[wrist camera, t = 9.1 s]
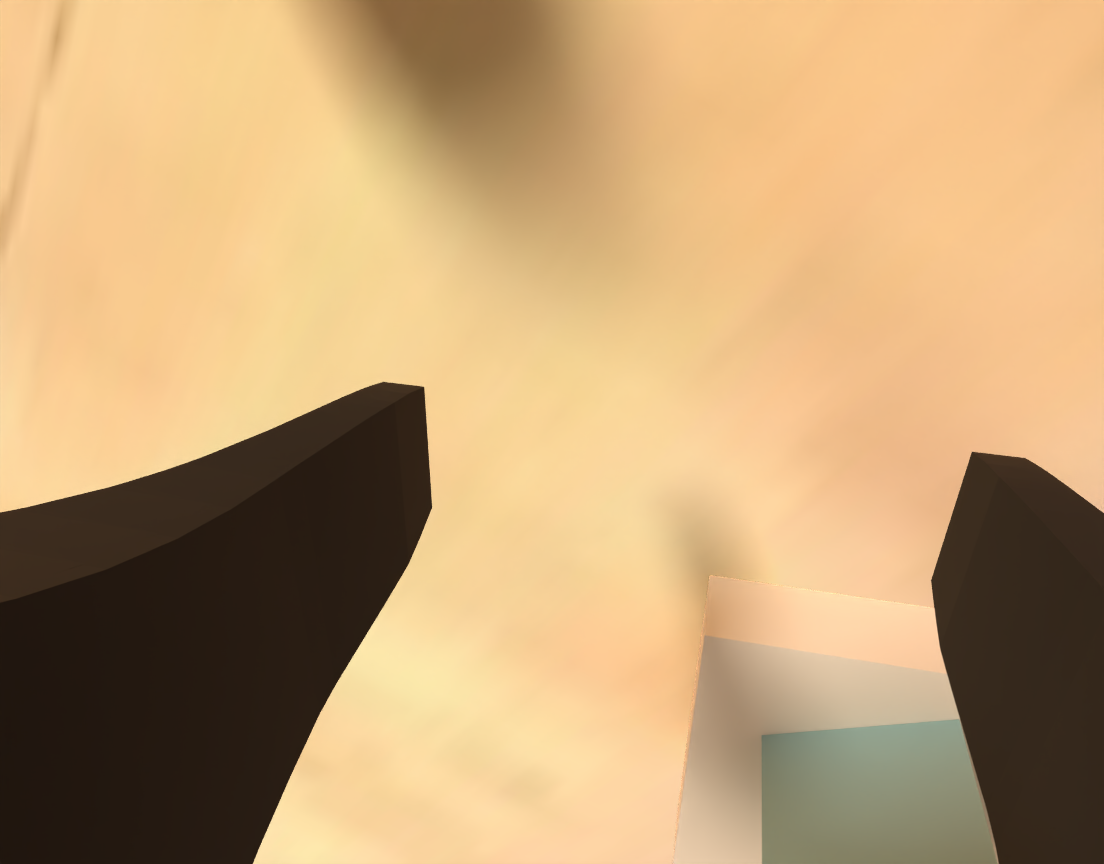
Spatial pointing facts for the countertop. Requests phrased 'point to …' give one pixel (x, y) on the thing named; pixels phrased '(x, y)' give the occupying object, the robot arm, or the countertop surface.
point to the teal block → (872, 797)
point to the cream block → (793, 696)
